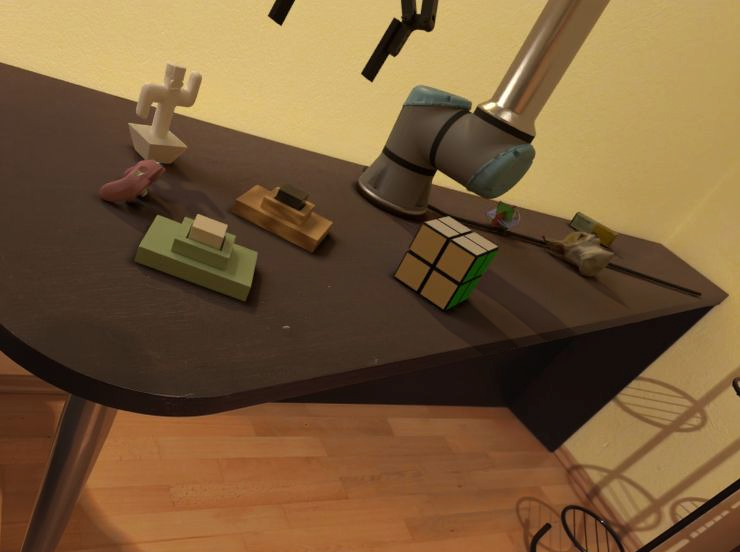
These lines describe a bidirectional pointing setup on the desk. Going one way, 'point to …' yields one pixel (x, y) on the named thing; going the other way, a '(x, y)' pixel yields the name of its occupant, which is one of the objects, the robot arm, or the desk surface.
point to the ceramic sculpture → (581, 251)
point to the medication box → (593, 228)
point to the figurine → (163, 114)
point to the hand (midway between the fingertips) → (319, 49)
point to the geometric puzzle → (504, 216)
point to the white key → (208, 232)
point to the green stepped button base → (198, 258)
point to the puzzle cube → (445, 262)
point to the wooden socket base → (282, 217)
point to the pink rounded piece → (133, 182)
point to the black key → (292, 196)
